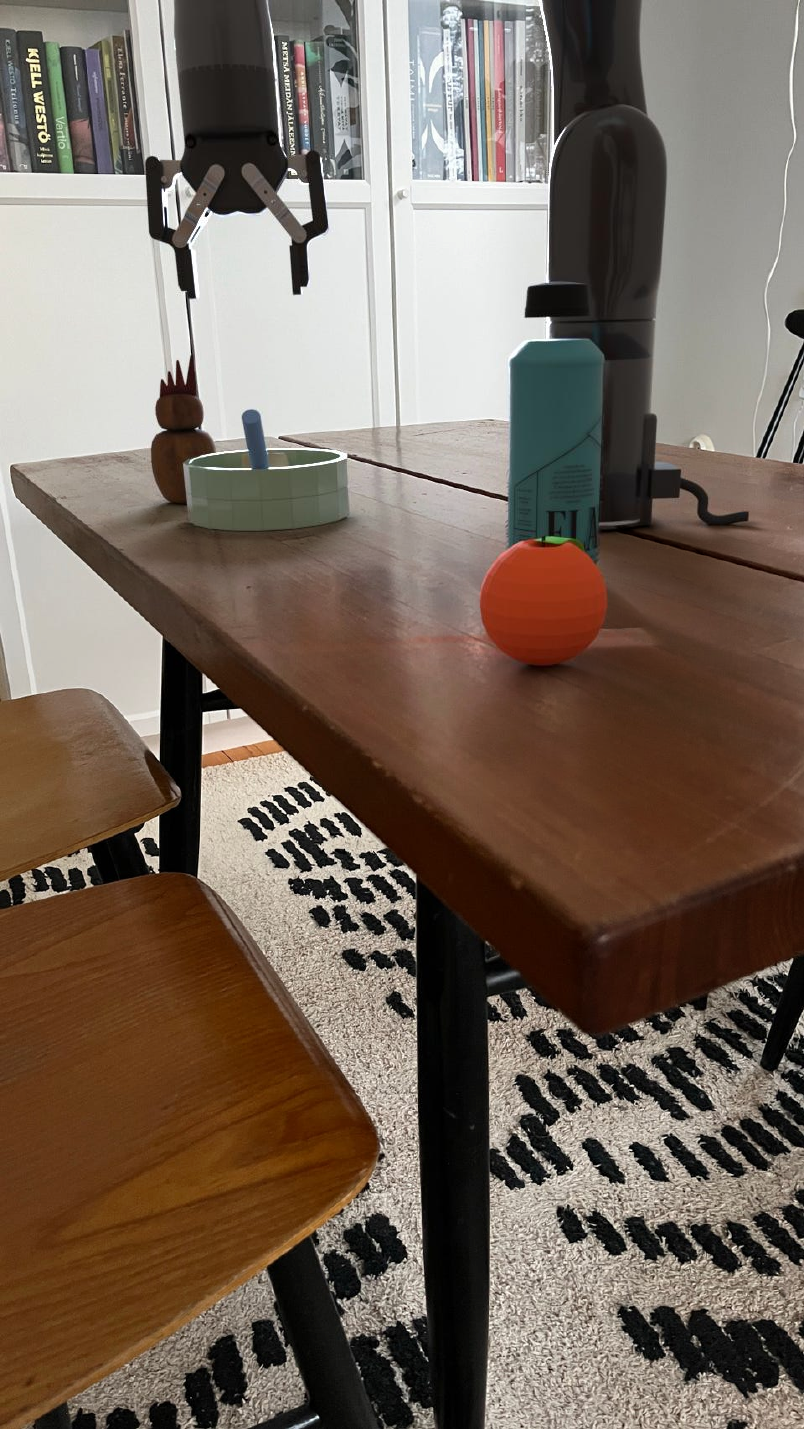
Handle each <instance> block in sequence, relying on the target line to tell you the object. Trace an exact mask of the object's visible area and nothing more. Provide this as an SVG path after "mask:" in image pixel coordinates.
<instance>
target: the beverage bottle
mask: <svg viewBox="0 0 804 1429" xmlns="http://www.w3.org/2000/svg"><path fill="white" fill-rule="evenodd" d="M525 299H526V300H525V307H524V319H534V318H535V319H537V318H538V319H539V318H540V319H541V318H547V317H575V316H589V302H588V287H587V284H581V283H574V282H562V281H560V282H548V283H547V282H543V283H542V282H541V283H537V284H532V285H529V286H527V288H526V296H525ZM507 364H508V370H509V371H508V383H509V384H508V386H509V387H508V470H507V473H506V474H508V475H506V476H505V478H507V477H508V478H507V479H508V481H507V482H506V485H507V492H506V495H507V497H505V500H506V499H507V500H506V502H507V503H505V505H506V506H507V510H506V509H505V514H506V513H507V520H505V523H506V524H505V528H506V529H505V532H507V533H505V536H506V538H507V541H505V551H506V550H508V549H509V548H510V547H512V546H513V545H515V544H517V543H519V542H521V541H526V540H531V539H540V538H542V536H543V535H544V536H546V537H561V538H570V539H577V540H578V541H579V542H580V543H581V544H582V545H583V547H584V550H585V553H586V554H587V555H589V557H590V558H591V559H592V561H593V562H594V563H595V565H596V566H597V563H598V561H599V560H600V558H598V557H600V553H601V551H600V548H599V547H600V545H601V536H599V531H600V530H599V528H598V521H599V520H598V519H599V506H600V528H601V504H600V505H599V494H600V493H599V488H600V489H602V487H600V482H601V480H600V476H602V475H600V463H601V462H600V459H601V449H602V448H601V441H602V443H603V442H604V441H603V439H602V440H601V438H602V437H601V430H602V422H603V427H604V415H605V414H603V413H602V393H603V391H602V387H603V364H604V355H603V353H602V352H601V351H600V349H599V348H598V347H597V346H596V345H595V344H594V343H593V342H592V341H591V340H590V339H546V338H543V339H542V338H541V339H527V340H524V341H522V343H521V344H520V345H519V346H518V347H517V348H516V349H515V350H514V351H513V352H512V353H511V354H510V356H509V357H508V362H507ZM603 395H604V394H603ZM604 399H605V398H604ZM604 408H605V407H604ZM603 412H604V411H603ZM603 431H604V430H603ZM603 437H604V436H603ZM602 445H603V444H602ZM602 447H603V446H602ZM602 452H603V450H602ZM602 459H603V458H602ZM601 461H602V460H601ZM601 479H602V478H601ZM601 483H602V482H601ZM601 492H602V490H601ZM600 503H601V501H600ZM506 544H507V546H506Z"/></svg>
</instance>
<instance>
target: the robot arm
mask: <svg viewBox="0 0 804 1429" xmlns="http://www.w3.org/2000/svg"><path fill="white" fill-rule="evenodd" d="M538 1H539V6H540V11H541V15H542V19H543V25H544V31H545V35H546V41H547V47H548V52H549V60H550V70H551V71H550V72H551V86H552V88H551V89H552V93H551V94H552V150H551V151H552V152H551V158H550V163H549V171H548V172H549V173H548V174H549V175H548V212H547V213H548V215H547V217H548V218H547V219H548V223H547V265H546V266H547V269H546V283H548V282H560V281H562V282H574V283H581V284H587V287H588V302H589V316H575V317H546V322H547V323H546V338H545V339H590V340H591V341H592V342H593V343H594V344H595V345H596V346H597V347H598V348H599V349H600V351H601V352H602V353H603V355H604V364H603V387H602V391H603V393H602V413H603V414H605V415H604V427H603V422H602V430H601V437H602V438H601V440H602V439H603V441H604V442H603V443H602V441H601V448H602V449H601V459H600V462H601V463H600V475H602V476H600V480H601V482H602V483H601V482H600V487H602V489H600V488H599V493H600V494H599V505H600V504H601V528H600V506H599V519H598V520H599V521H598V528H599V530H598V531H611V530H623V529H629V528H634V527H640V526H652V520H653V519H652V517H653V503H654V502H653V501H654V500H659V499H679V498H680V497H681V490H682V491H686V492H688V493H690V494H692V495H693V496H694V497H695V498H696V499H697V505H696V514H697V516H698V518H699V519H700V521H702V522H704V524H707V525H709V526H728V525H732V524H737V523H743V522H744V523H745V522H746V523H747V522H749V514H750V512H749V510H742V511H735V512H732V513H731V512H730V513H727V514H720V515H717V514H713V513H711V512H709V509H708V508H709V495H708V493H707V492H706V491H705V490H704V488H703V487H702V486H701V485H699V484H698V483H696V482H694V481H692V480H689V479H687V478H684V477H682V469H681V468H679V467H678V466H675V465H673V464H671V463H669V462H667V461H656V449H657V448H656V447H657V432H658V431H657V429H658V417H657V415H656V413H653V412H652V393H653V379H654V378H653V376H654V360H655V359H654V357H655V341H656V340H655V338H656V323H657V322H656V320H655V319H656V318H657V306H658V295H659V289H660V283H661V277H662V265H663V248H664V247H663V246H664V236H665V218H666V203H667V185H668V155H667V149H666V148H667V147H666V145H665V142H664V139H663V136H662V134H661V131H660V130H659V128H658V126H656V124H655V123H654V121H653V120H652V119H651V118H650V117H649V114H648V108H647V101H646V100H647V99H646V91H645V83H644V76H643V68H642V66H643V65H642V54H641V23H642V22H641V20H642V8H643V0H538ZM173 10H174V11H173V12H174V15H173V39H174V40H173V42H174V51H175V52H174V53H175V62H176V72H177V80H178V81H177V82H178V91H179V92H178V93H179V102H180V113H181V123H182V133H183V142H184V145H183V146H184V148H183V149H184V150H183V154H182V157H181V159H159V158H158V157H157V156H154V155H150V156H148V157H146V159H145V162H144V171H145V188H146V206H147V224H148V234H149V237H151V239H153V240H155V241H157V242H160V243H164V244H166V245H169V246H170V247H171V248H172V249H173V252H174V259H175V266H176V277H177V286H178V287H179V290H180V291H181V292H183V293H186V295H187V299H188V300H199V299H200V287H199V279H198V278H199V276H198V267H197V256H196V250H195V249H193V246H192V245H193V244H194V242H195V240H196V239H197V237H198V235H199V234H200V232H201V230H202V229H203V227H204V226H205V225H206V224H207V222H208V219H209V218H210V216H211V215H212V214H214V215H216V216H218V217H220V218H231V217H234V216H237V215H244V216H249V217H258V216H259V217H260V215H262V214H263V213H265V212H266V211H268V210H269V212H270V213H271V214H272V215H273V217H274V218H275V219H276V220H277V222H278V223H279V225H281V227H283V229H284V231H286V234H288V235H289V237H290V238H291V239H290V240H291V244H289V260H290V261H289V262H290V275H291V289H292V290H291V291H292V296H303V288H308V287H309V284H310V282H311V280H310V279H311V278H310V264H309V263H310V262H309V249H308V248H309V245H310V244H311V242H312V241H314V240H316V239H318V238H321V237H324V236H326V235H327V234H328V233H329V231H330V225H329V224H330V223H329V222H330V221H329V213H328V206H327V205H328V204H327V197H326V188H325V179H324V172H323V171H324V170H323V161H322V156H321V154H320V152H318V151H317V150H315V149H313V150H308V152H306V153H303V154H295V155H286V154H285V151H284V150H283V146H282V138H281V125H280V123H281V122H280V111H279V110H280V109H279V96H278V84H277V63H278V61H277V55H276V53H275V41H274V40H275V39H274V33H273V27H272V21H271V16H270V10H269V1H268V0H173ZM290 171H291V172H294V173H295V175H296V176H297V178H298V181H299V183H300V184H301V185H304V186H306V185H307V186H308V191H309V192H308V193H309V194H308V195H309V202H310V210H311V217H312V220H311V221H308V222H306V223H303V224H302V225H301V223H300V222H299V221H298V219H297V218H296V217H295V216H294V214H293V212H292V211H291V210H290V209H289V208H288V206H287V205H286V204H285V202H284V201H283V200H282V199H281V198H280V196H279V195H278V192H279V190H280V188H281V187H282V184H283V183H284V181H285V179H286V178H287V176H288V174H289V172H290ZM179 176H182V177H183V179H184V180H185V181H186V183H188V185H189V186H190V188H191V189H192V190H193V191H194V193H195V194H194V196H193V198H192V199H191V201H190V203H189V205H188V207H187V208H186V210H185V212H184V215H183V217H182V220H181V221H180V222H179V225H178V226H177V228H176V229H175V228H172V227H170V225H169V224H170V223H169V204H168V191H171V190H173V189H174V188H175V185H176V180H177V178H179ZM603 394H604V395H603ZM604 398H605V399H604ZM604 407H605V408H604ZM603 411H604V412H603ZM603 430H604V431H603ZM603 436H604V437H603ZM602 444H603V445H602ZM602 446H603V447H602ZM602 450H603V452H602ZM602 458H603V459H602ZM601 460H602V461H601ZM601 478H602V479H601ZM601 490H602V492H601ZM600 501H601V503H600Z"/></svg>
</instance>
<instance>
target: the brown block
mask: <svg viewBox="0 0 804 1429" xmlns="http://www.w3.org/2000/svg"><path fill="white" fill-rule="evenodd" d="M267 456H268V462H269V468H280V467H289V461H288V459H287V457H286V456H285V454H284V453H267ZM241 460H242V469H251V465H250V459H249V454H242V455H241Z"/></svg>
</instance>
